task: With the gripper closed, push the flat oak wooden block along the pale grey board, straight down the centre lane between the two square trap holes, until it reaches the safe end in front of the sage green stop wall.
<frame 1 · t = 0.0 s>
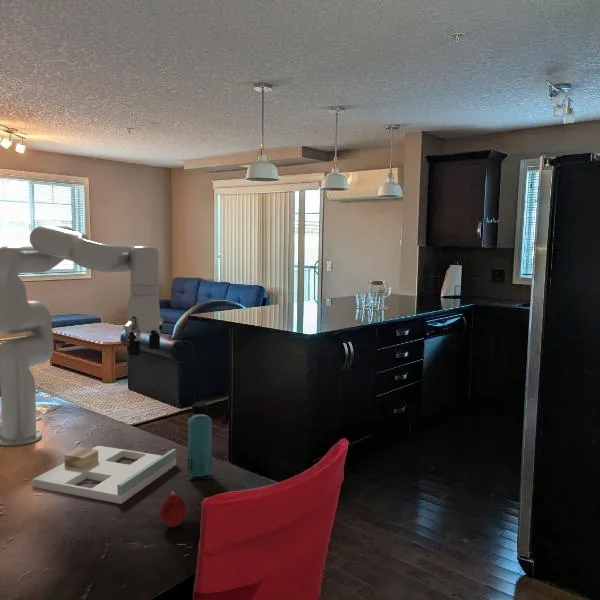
hand: (144, 351, 154), 31 cm above the table, tool pointing down, fingers open, 9 cm apart
block: (81, 463, 148), point 2 cm above the table, touching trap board
onion: (173, 527, 120), on the table
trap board: (108, 475, 146), on the table
beverage bottle: (199, 477, 146), on the table
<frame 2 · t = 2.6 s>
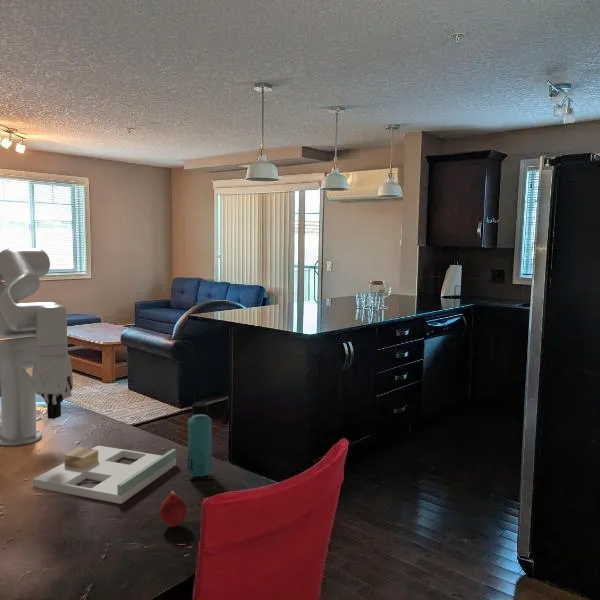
hand: (54, 417, 149), 14 cm above the table, tool pointing down, fingers closed
nothing on the table moved.
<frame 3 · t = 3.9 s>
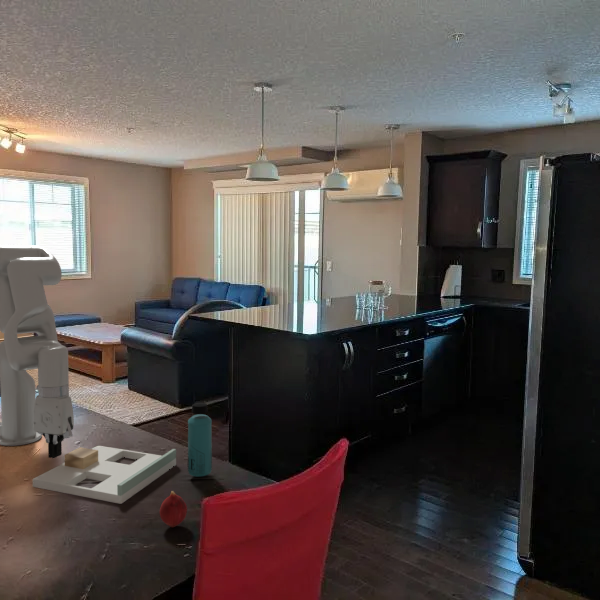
hand: (55, 456, 151), 3 cm above the table, tool pointing down, fingers closed
nothing on the table moved.
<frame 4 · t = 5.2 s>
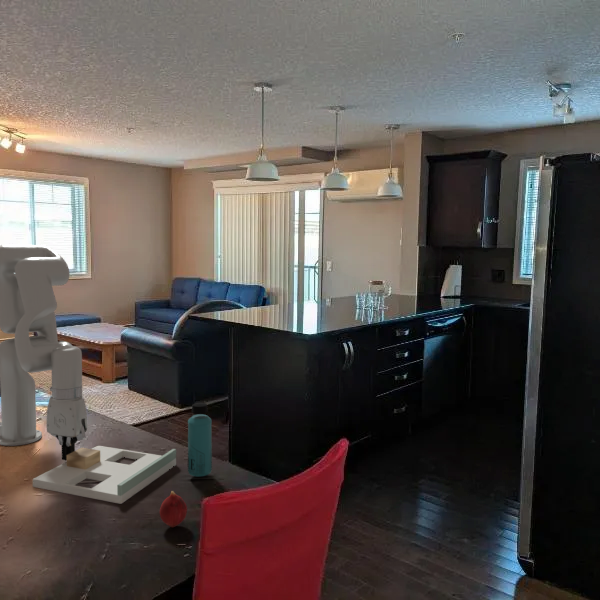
hand: (68, 458, 149), 3 cm above the table, tool pointing down, fingers closed
block: (83, 463, 148), point 2 cm above the table, touching gripper, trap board
everything else where it was.
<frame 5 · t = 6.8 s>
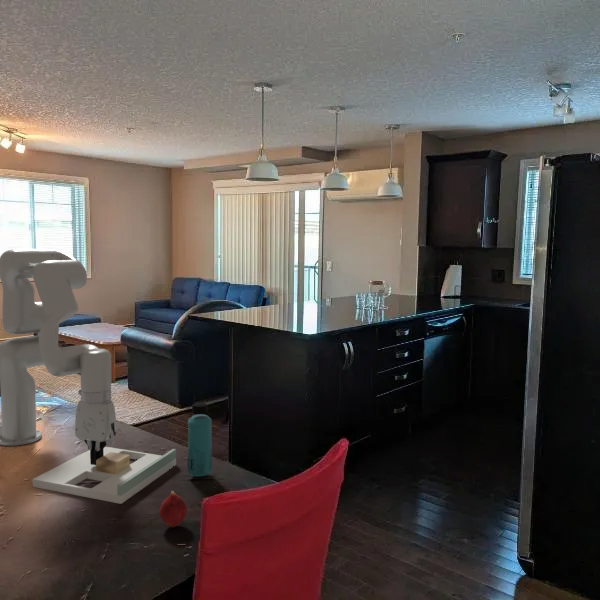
hand: (96, 463, 146), 3 cm above the table, tool pointing down, fingers closed
block: (113, 468, 145), point 2 cm above the table, touching gripper, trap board
everything else where it was.
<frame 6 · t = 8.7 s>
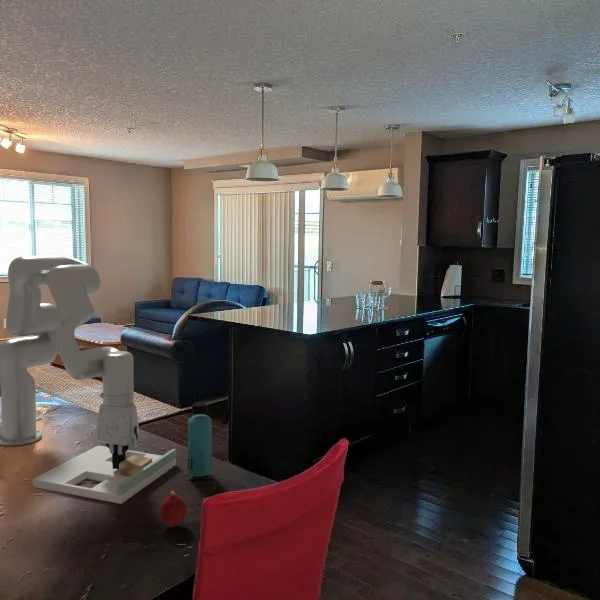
hand: (118, 467, 144), 3 cm above the table, tool pointing down, fingers closed
block: (135, 472, 143), point 2 cm above the table, touching gripper, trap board
everything else where it was.
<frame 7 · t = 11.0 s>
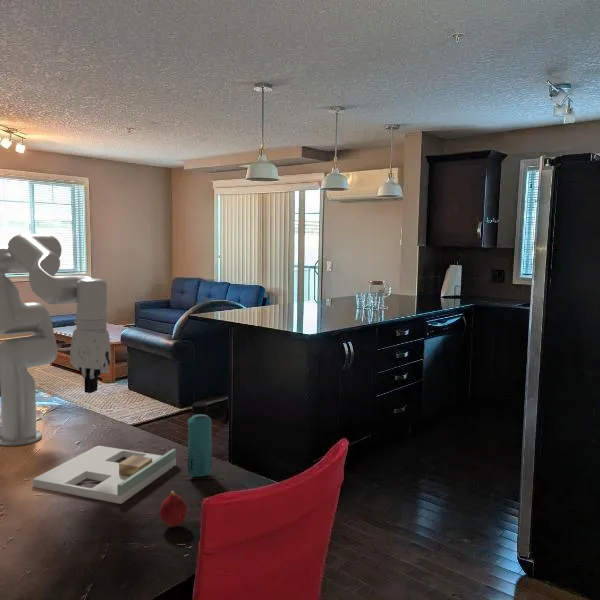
hand: (90, 391, 149), 21 cm above the table, tool pointing down, fingers closed
block: (135, 472, 143), point 2 cm above the table, touching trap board
everything else where it was.
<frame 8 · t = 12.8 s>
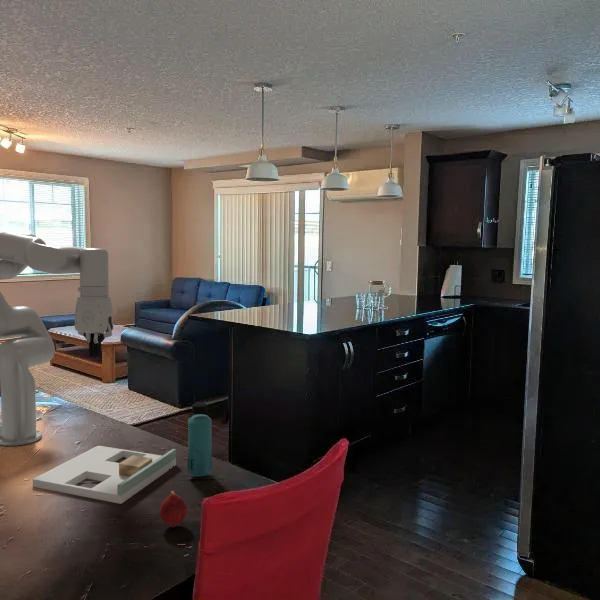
hand: (95, 356, 156), 29 cm above the table, tool pointing down, fingers closed
nothing on the table moved.
at the end: block 0.3 cm from the target spot on the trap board, point 2.0 cm above the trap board's base; block tilted 0° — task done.
